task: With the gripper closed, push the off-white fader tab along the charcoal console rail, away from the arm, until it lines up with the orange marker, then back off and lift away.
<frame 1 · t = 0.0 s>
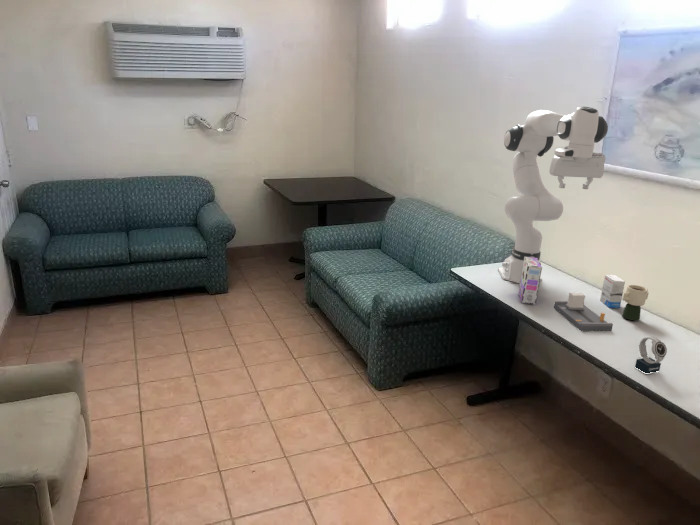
hand: (573, 188, 211), 48 cm above the table, tool pointing down, fingers open, 8 cm apart
fader console: (581, 319, 212), on the table
fader tab: (575, 301, 217), point 5 cm above the table, slide at 0.0 cm
watch: (646, 370, 175), on the table
ink box: (609, 304, 230), on the table
candy box: (526, 299, 231), on the table
character mug: (630, 319, 216), on the table
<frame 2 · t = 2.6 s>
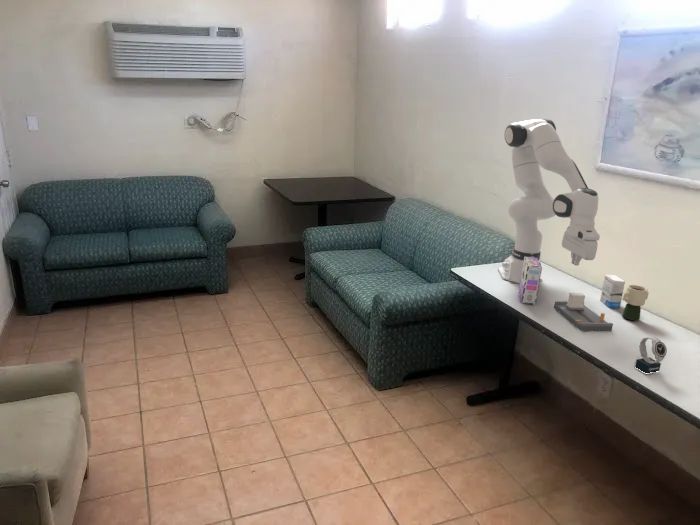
hand: (574, 264, 218), 18 cm above the table, tool pointing down, fingers closed
nothing on the table moved.
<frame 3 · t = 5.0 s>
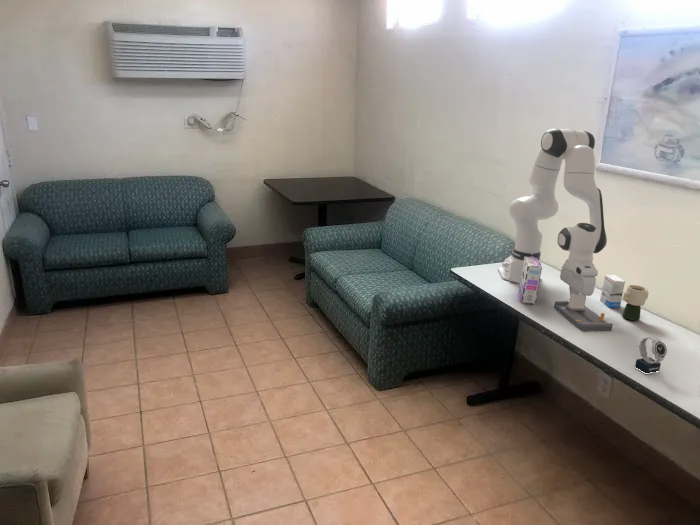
hand: (573, 298, 219), 5 cm above the table, tool pointing down, fingers closed
fader tab: (577, 301, 216), point 5 cm above the table, slide at 0.9 cm, touching gripper
everything else where it was.
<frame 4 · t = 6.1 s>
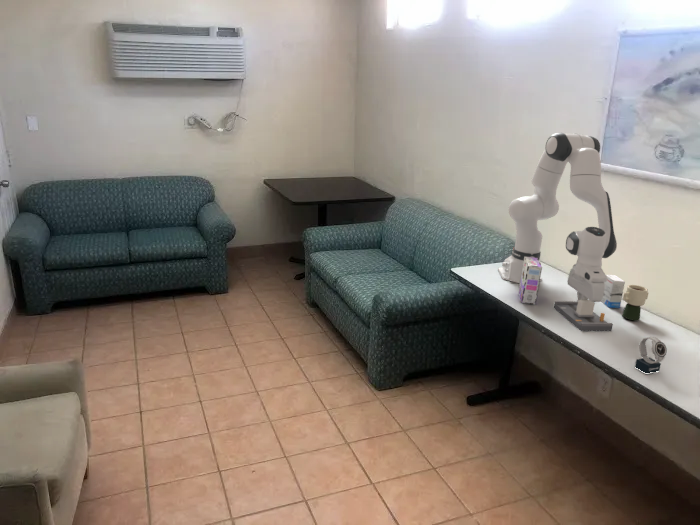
hand: (581, 304, 213), 5 cm above the table, tool pointing down, fingers closed
fader tab: (585, 308, 210), point 5 cm above the table, slide at 7.3 cm, touching gripper
everything else where it was.
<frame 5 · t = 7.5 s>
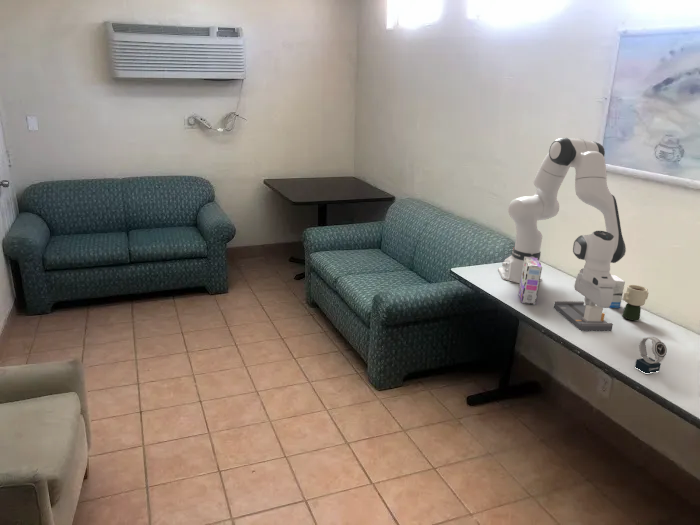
hand: (588, 310, 208), 5 cm above the table, tool pointing down, fingers closed
fader tab: (593, 314, 204), point 5 cm above the table, slide at 13.0 cm, touching gripper
everything else where it was.
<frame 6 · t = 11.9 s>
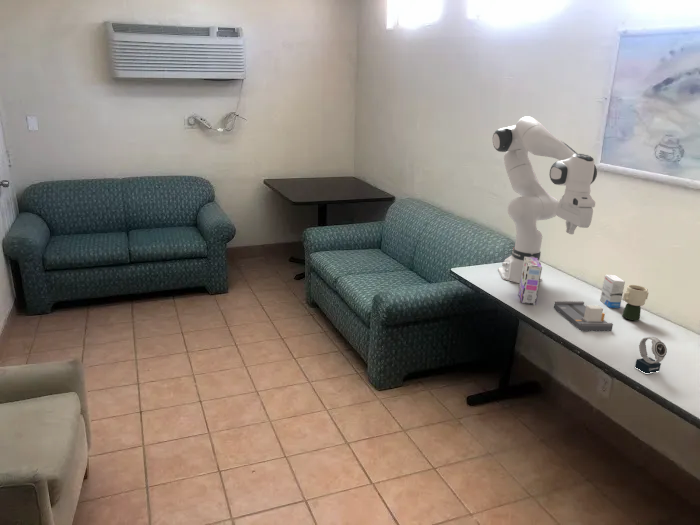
hand: (569, 233, 213), 31 cm above the table, tool pointing down, fingers closed
fader tab: (593, 314, 204), point 5 cm above the table, slide at 13.2 cm
everything else where it was.
at the end: fader tab slide at 13.2 cm; the gripper is holding nothing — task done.
